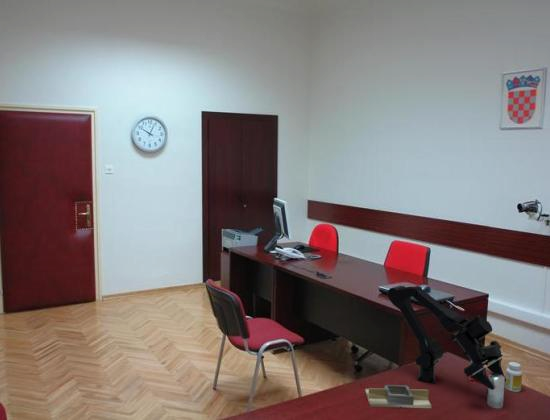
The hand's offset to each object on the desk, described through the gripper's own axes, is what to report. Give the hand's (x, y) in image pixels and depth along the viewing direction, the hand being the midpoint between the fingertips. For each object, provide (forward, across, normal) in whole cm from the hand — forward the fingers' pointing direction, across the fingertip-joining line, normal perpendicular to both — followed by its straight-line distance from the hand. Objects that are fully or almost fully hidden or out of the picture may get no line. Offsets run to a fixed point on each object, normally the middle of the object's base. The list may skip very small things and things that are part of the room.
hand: (499, 385), depth 169 cm
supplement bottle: (+4, +17, +7) cm, 19 cm away
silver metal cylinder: (+4, 0, +6) cm, 8 cm away
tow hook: (-4, +16, +15) cm, 22 cm away
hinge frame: (-13, -24, +23) cm, 35 cm away
